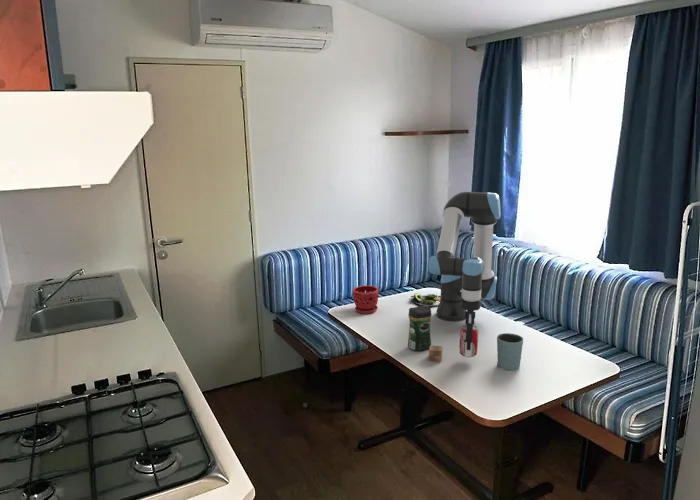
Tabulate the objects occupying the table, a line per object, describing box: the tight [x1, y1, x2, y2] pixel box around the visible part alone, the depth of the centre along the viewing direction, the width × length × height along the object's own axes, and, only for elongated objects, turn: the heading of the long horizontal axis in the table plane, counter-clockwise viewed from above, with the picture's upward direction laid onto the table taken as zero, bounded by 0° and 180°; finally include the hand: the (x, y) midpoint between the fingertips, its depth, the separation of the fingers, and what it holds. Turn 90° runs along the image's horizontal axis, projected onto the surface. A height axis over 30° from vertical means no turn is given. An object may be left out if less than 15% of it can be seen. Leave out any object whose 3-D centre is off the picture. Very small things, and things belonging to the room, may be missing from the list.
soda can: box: [459, 324, 479, 358], centre depth 219 cm, size 7×7×12 cm
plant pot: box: [352, 285, 379, 315], centre depth 279 cm, size 13×13×12 cm
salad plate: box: [410, 292, 441, 308], centre depth 294 cm, size 19×18×5 cm
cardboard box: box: [428, 344, 443, 363], centre depth 223 cm, size 5×5×5 cm
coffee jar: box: [407, 305, 432, 352], centre depth 233 cm, size 10×8×19 cm
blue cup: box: [496, 332, 524, 372], centre depth 216 cm, size 10×10×12 cm
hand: (468, 352), depth 220 cm, fingers closed on soda can, 7 cm apart
